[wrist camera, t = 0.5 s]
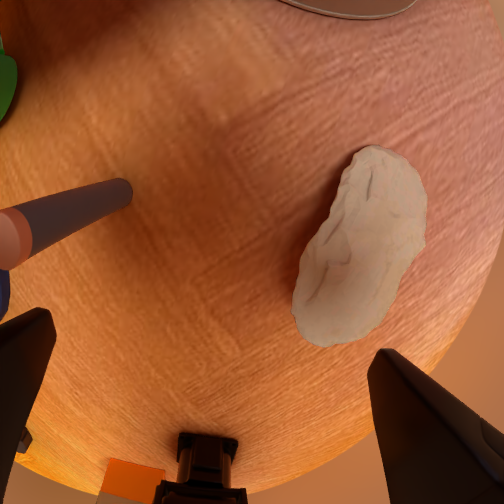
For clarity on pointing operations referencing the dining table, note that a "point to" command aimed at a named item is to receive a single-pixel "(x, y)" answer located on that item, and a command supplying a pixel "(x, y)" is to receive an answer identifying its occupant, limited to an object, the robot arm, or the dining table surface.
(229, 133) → the dining table surface
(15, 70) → the toy character
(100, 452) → the dining table surface
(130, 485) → the orange juice
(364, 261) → the stone
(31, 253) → the capped glue stick
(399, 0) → the container
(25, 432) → the gear
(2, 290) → the lantern
